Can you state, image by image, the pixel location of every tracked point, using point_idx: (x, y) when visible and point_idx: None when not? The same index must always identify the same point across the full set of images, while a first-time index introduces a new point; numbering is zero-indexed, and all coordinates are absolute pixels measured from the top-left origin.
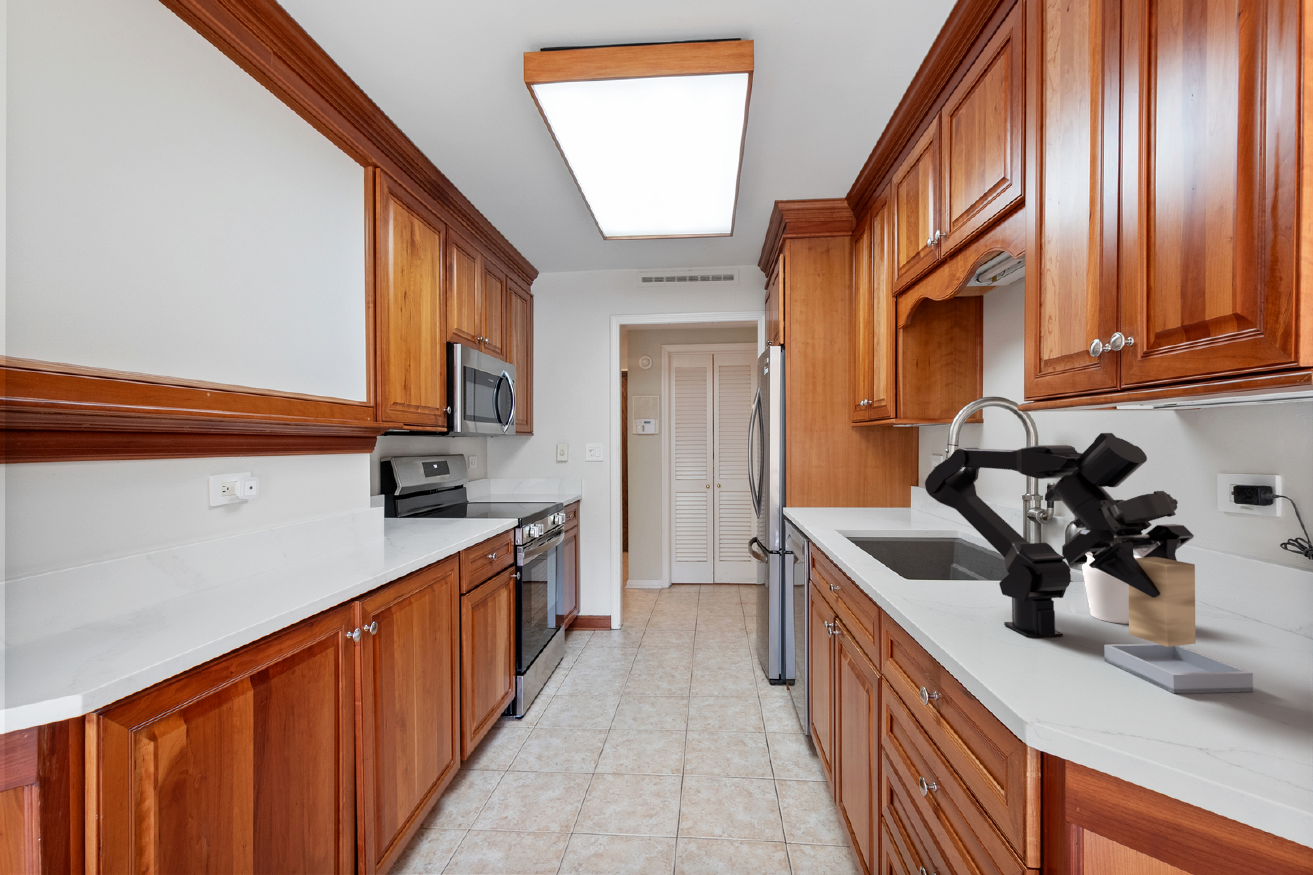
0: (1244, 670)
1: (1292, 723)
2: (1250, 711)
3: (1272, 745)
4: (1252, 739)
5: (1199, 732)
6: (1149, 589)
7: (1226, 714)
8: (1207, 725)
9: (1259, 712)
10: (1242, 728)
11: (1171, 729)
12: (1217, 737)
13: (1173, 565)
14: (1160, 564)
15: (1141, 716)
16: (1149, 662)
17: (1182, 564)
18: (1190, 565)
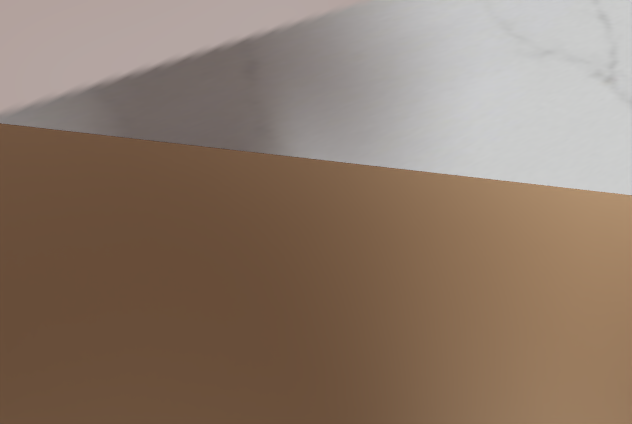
0: None
1: (234, 59)
2: (254, 136)
3: (431, 27)
4: (443, 57)
5: (531, 121)
6: None
7: (346, 150)
8: (471, 133)
9: (236, 124)
10: (401, 93)
11: (583, 154)
12: (515, 92)
13: (461, 199)
14: (600, 349)
15: None
16: None
17: (173, 197)
18: (51, 130)
